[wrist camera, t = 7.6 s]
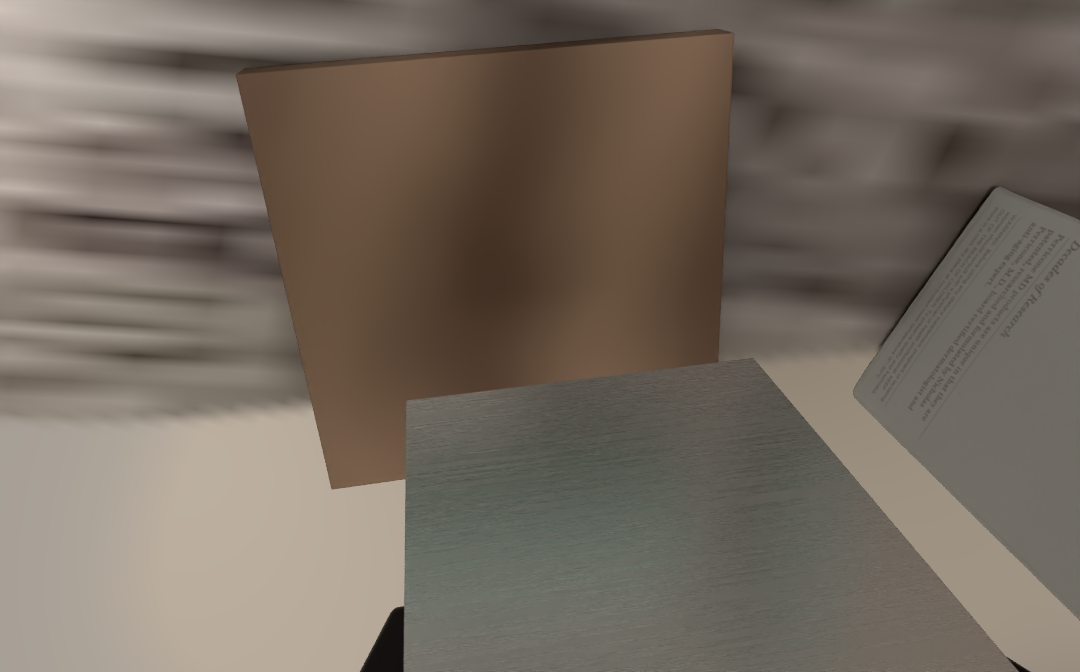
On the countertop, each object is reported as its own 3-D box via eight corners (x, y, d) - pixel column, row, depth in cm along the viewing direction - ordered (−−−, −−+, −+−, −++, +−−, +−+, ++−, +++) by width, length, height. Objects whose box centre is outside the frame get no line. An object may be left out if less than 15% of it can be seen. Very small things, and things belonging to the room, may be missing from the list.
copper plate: (718, 29, 18) (733, 33, 17) (702, 417, 23) (714, 435, 22) (245, 68, 17) (235, 74, 16) (335, 468, 22) (331, 489, 21)
